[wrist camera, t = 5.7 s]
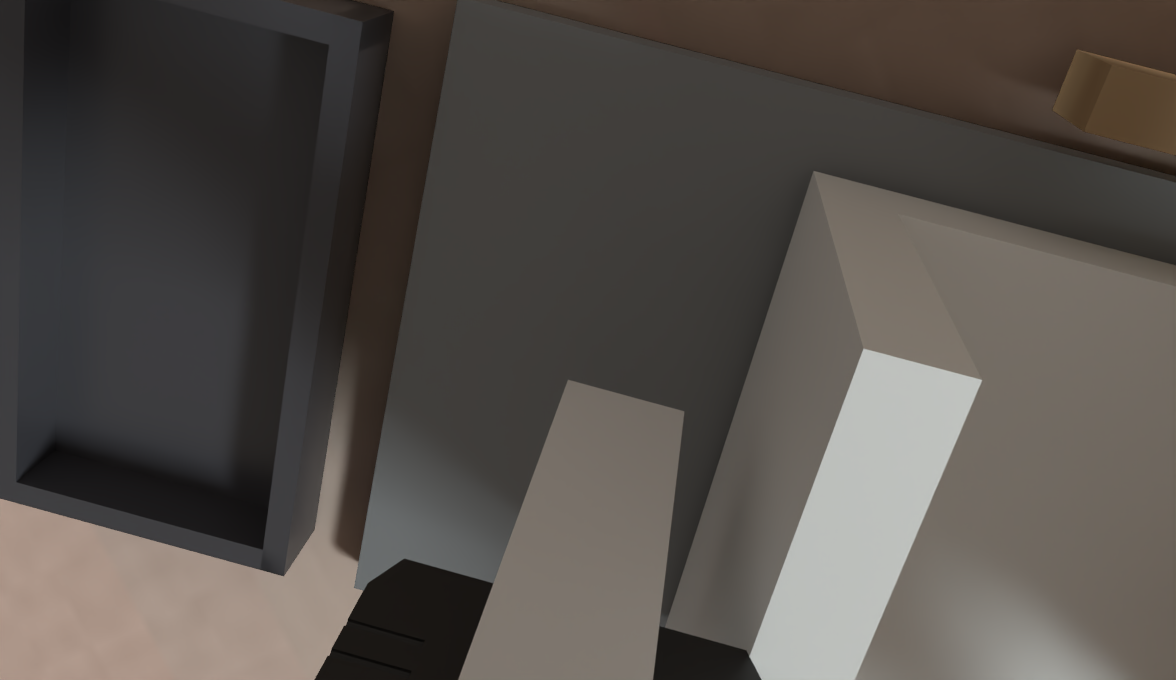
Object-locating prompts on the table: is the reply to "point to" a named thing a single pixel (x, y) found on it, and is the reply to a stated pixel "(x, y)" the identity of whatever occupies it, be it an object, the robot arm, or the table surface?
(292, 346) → the pit tray
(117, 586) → the table surface
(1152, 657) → the white u-shaped channel
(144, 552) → the table surface
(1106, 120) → the bridge
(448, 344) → the track
